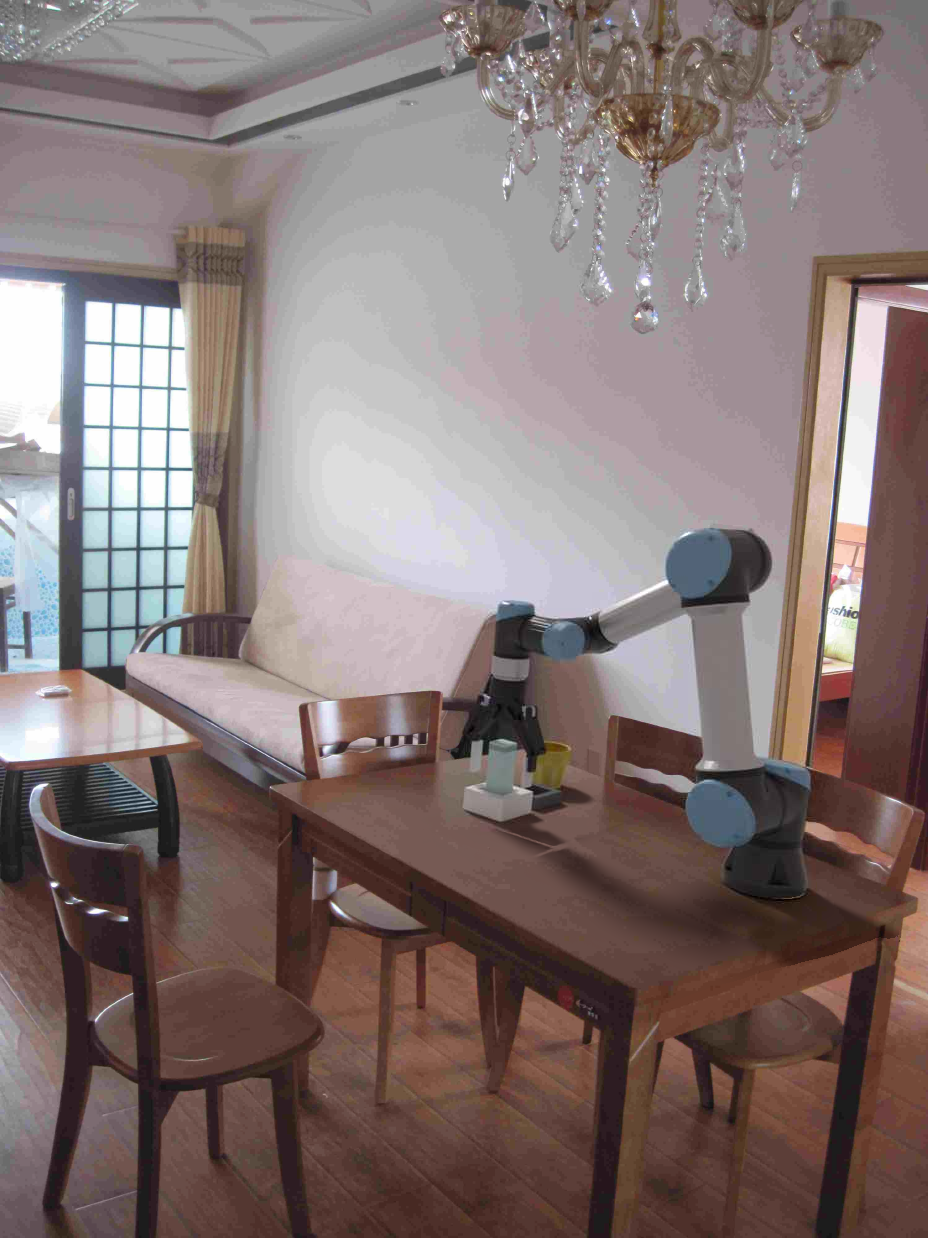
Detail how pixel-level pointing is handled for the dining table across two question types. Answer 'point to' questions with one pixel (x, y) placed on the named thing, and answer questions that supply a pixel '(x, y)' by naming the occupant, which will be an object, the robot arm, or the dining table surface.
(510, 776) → the plug
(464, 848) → the dining table surface
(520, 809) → the box
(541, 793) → the dark grey square tray
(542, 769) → the plant pot
